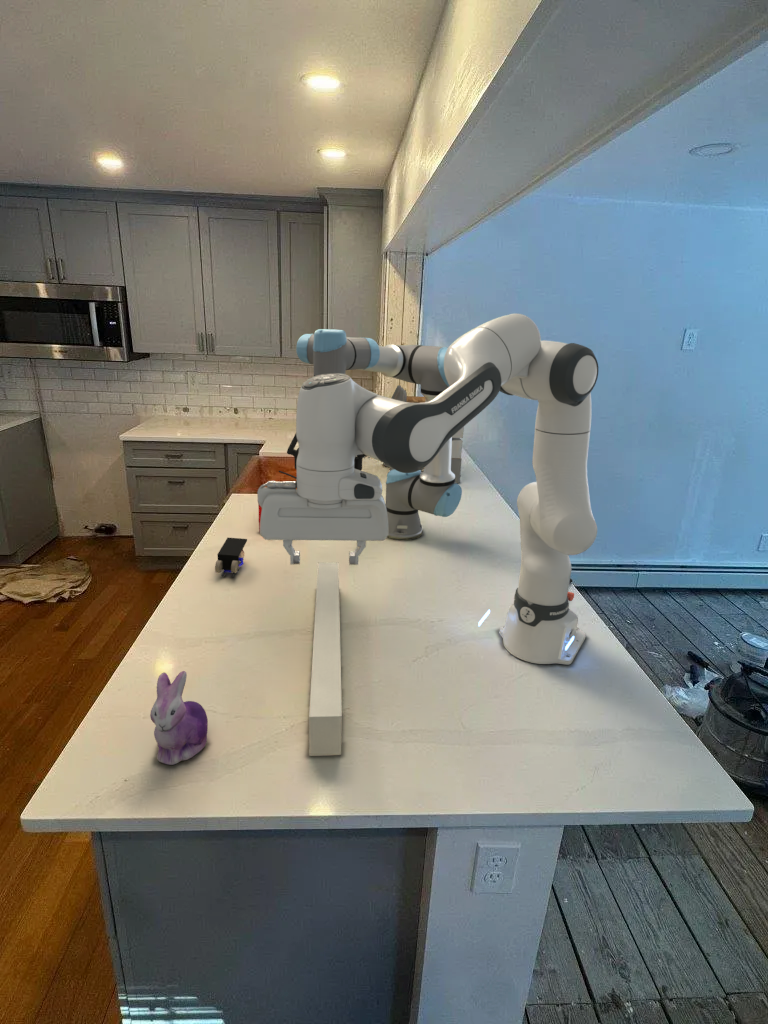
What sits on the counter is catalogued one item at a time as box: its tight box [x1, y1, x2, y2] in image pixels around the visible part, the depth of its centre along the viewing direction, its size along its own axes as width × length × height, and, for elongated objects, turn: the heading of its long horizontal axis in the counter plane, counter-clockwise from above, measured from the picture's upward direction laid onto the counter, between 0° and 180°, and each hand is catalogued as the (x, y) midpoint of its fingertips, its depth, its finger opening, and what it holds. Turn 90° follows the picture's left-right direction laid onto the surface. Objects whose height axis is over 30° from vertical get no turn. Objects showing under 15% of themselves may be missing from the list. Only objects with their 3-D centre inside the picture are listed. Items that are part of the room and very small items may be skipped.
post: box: [308, 561, 343, 757], centre depth 128 cm, size 62×6×8 cm, turn 5°
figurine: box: [149, 670, 209, 766], centre depth 98 cm, size 9×10×15 cm
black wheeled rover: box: [214, 537, 248, 578], centre depth 166 cm, size 7×8×15 cm
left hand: (328, 482), depth 143 cm, fingers open, 13 cm apart
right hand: (324, 563), depth 92 cm, fingers open, 8 cm apart
